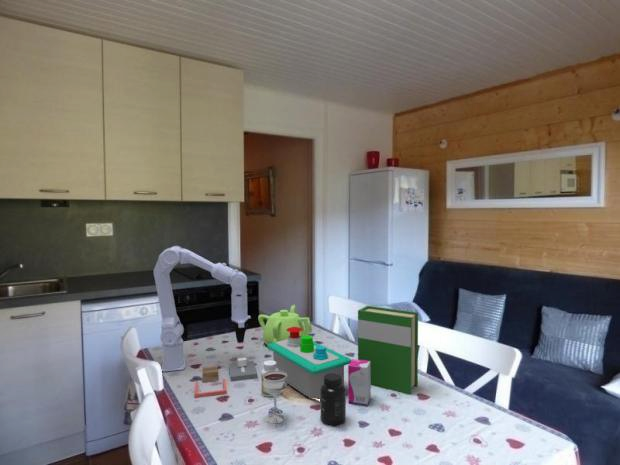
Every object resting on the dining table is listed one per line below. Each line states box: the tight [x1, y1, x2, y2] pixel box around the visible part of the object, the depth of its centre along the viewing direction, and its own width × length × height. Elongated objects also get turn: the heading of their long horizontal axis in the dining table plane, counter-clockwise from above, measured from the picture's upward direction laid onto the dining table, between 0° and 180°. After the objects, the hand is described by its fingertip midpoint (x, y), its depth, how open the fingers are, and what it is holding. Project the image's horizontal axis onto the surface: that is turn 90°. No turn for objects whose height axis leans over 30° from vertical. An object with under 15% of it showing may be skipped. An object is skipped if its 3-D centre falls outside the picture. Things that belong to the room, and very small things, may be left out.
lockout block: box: [202, 365, 219, 384], centre depth 132 cm, size 5×5×4 cm
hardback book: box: [357, 305, 419, 396], centre depth 127 cm, size 18×7×24 cm, turn 58°
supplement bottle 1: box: [260, 360, 279, 398], centre depth 121 cm, size 5×5×10 cm
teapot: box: [257, 304, 313, 346], centre depth 167 cm, size 19×20×14 cm
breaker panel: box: [228, 360, 259, 382], centre depth 137 cm, size 12×9×2 cm
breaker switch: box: [236, 356, 248, 367], centre depth 139 cm, size 2×3×2 cm
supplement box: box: [347, 358, 372, 407], centre depth 116 cm, size 6×6×12 cm
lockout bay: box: [194, 378, 228, 399], centre depth 124 cm, size 9×10×1 cm
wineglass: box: [261, 370, 288, 424], centre depth 106 cm, size 7×7×12 cm
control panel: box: [266, 327, 352, 399], centre depth 129 cm, size 15×16×30 cm
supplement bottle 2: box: [319, 373, 347, 427], centre depth 105 cm, size 7×7×12 cm
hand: (240, 341), depth 145 cm, fingers closed
